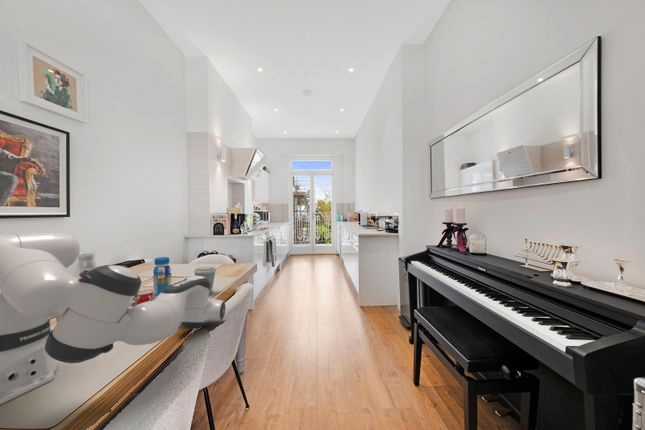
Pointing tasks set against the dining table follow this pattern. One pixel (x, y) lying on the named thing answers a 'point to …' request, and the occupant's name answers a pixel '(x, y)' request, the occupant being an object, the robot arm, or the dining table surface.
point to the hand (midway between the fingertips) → (154, 308)
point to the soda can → (144, 296)
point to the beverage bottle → (161, 274)
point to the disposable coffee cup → (206, 274)
